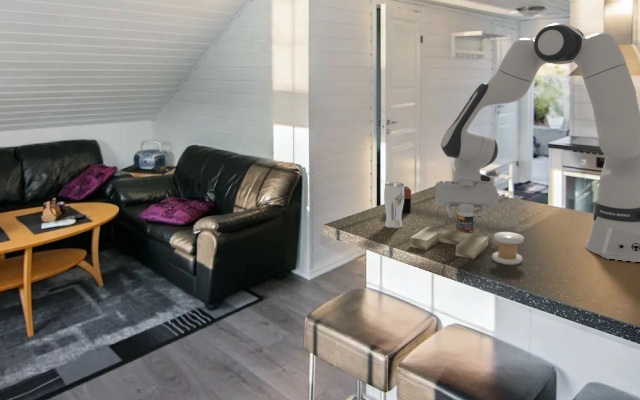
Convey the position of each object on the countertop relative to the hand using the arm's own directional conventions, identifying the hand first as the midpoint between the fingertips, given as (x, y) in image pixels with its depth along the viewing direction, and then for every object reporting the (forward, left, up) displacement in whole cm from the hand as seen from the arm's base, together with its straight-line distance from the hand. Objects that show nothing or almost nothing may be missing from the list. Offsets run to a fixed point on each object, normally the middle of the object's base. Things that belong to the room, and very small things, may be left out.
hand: (465, 217), depth 166 cm
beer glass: (+24, +4, -6) cm, 25 cm away
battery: (+30, -14, -6) cm, 33 cm away
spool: (-18, +16, -6) cm, 25 cm away
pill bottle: (0, 0, -6) cm, 6 cm away
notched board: (0, +14, -6) cm, 15 cm away
